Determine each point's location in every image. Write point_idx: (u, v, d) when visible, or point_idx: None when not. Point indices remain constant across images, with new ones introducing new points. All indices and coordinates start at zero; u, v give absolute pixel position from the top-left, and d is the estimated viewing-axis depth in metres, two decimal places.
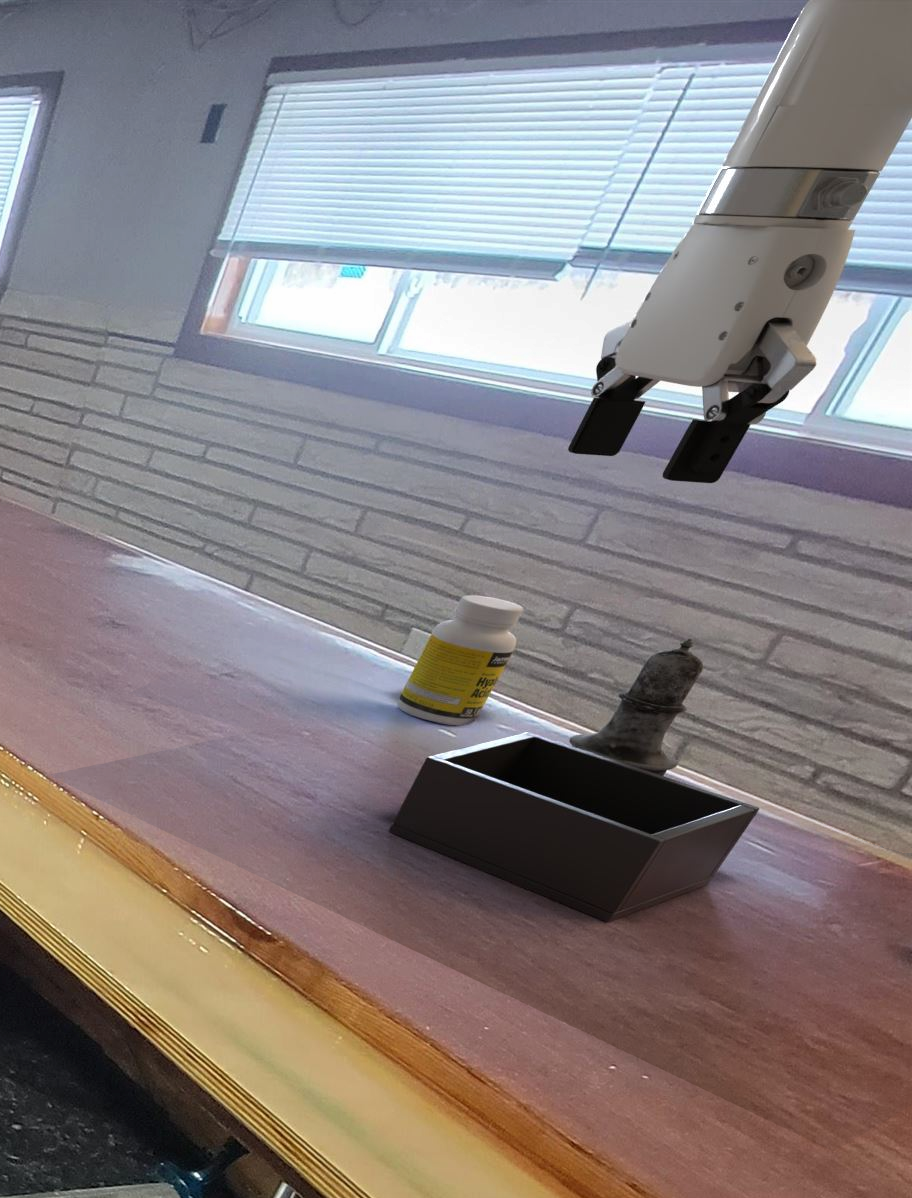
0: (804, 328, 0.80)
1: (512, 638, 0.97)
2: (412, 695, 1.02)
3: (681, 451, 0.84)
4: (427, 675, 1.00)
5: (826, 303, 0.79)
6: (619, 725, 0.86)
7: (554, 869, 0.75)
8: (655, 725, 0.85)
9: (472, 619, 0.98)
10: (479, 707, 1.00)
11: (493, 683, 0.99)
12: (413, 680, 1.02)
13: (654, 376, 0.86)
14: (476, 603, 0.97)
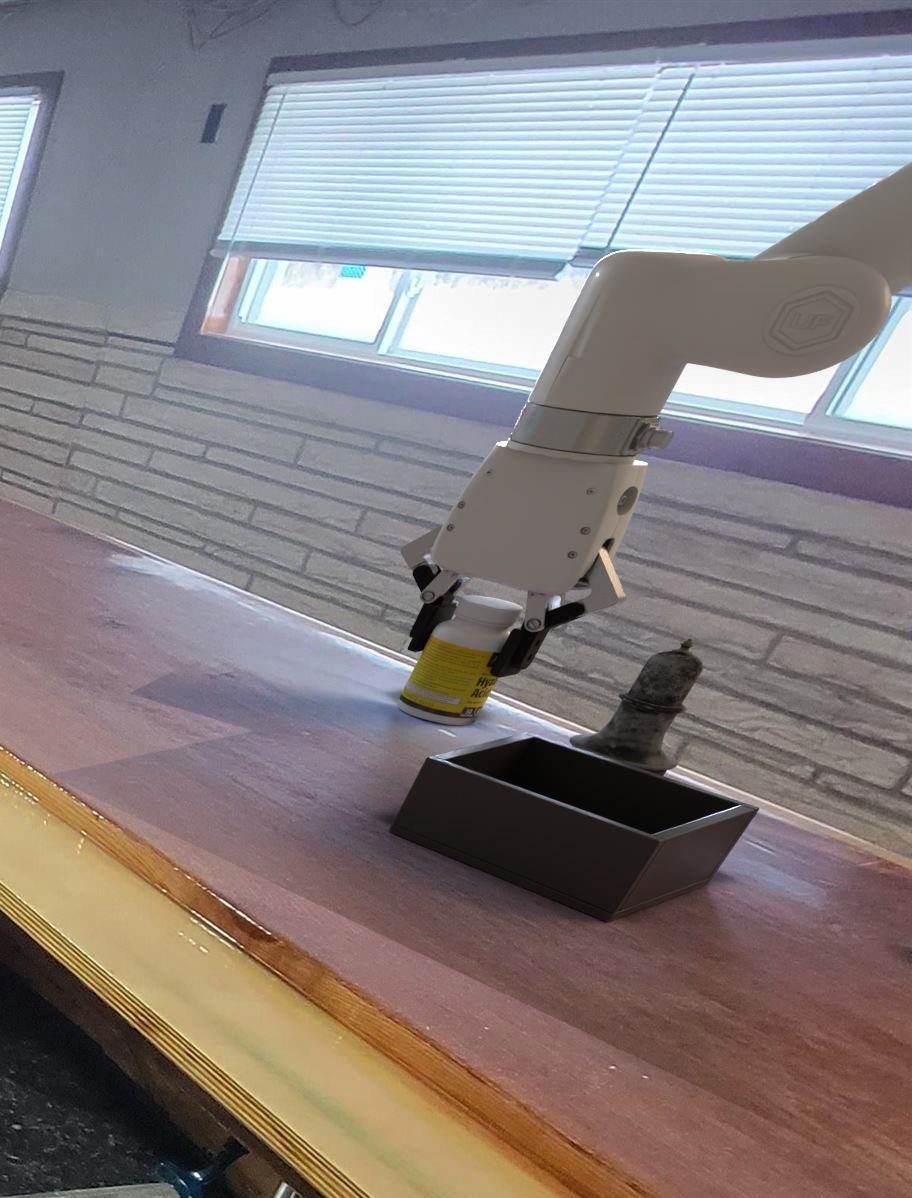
0: (617, 544, 0.91)
1: None
2: (412, 695, 1.02)
3: (508, 654, 0.96)
4: (426, 675, 1.00)
5: None
6: (619, 725, 0.86)
7: (554, 869, 0.75)
8: (655, 725, 0.85)
9: (471, 619, 0.98)
10: (479, 707, 1.00)
11: (493, 683, 0.99)
12: (413, 680, 1.02)
13: (489, 578, 0.96)
14: (476, 603, 0.97)
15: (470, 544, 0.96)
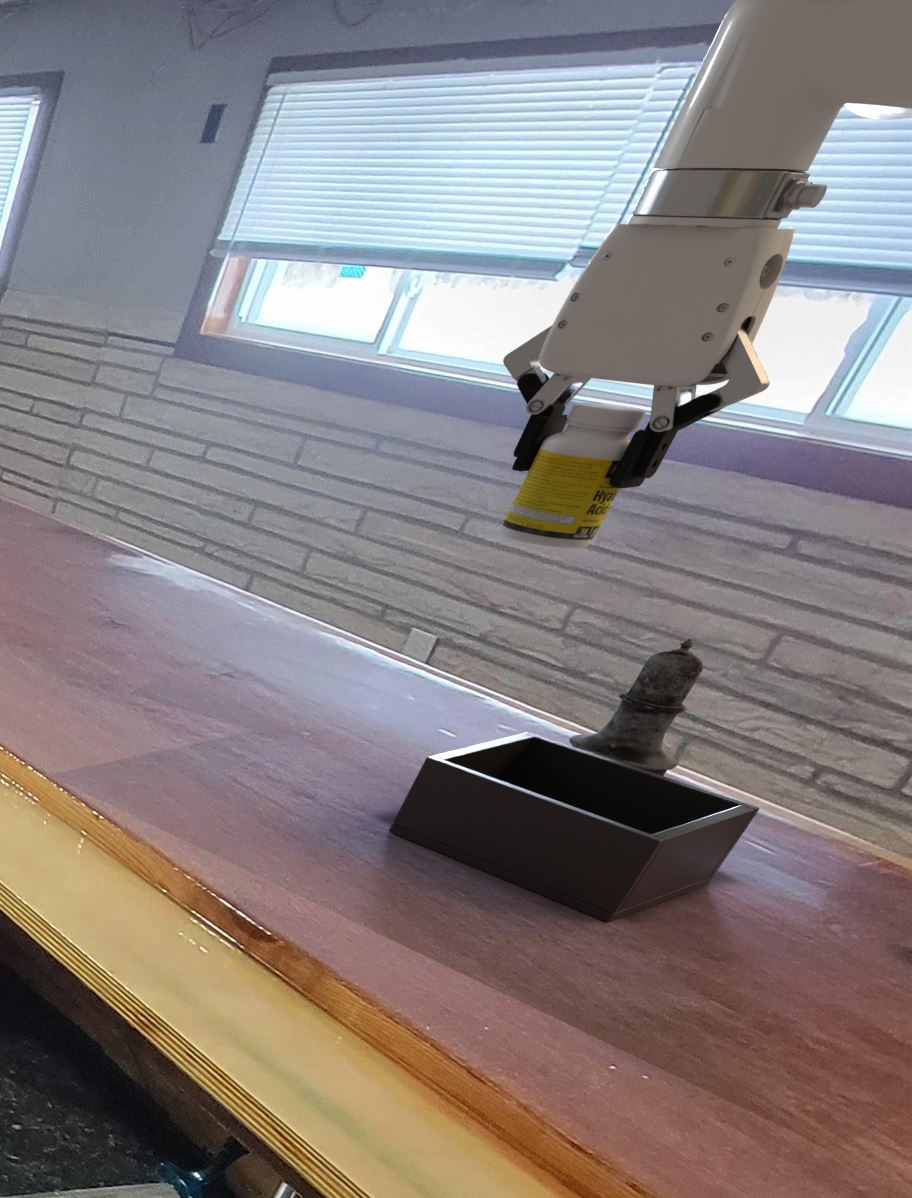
0: (758, 325, 0.82)
1: None
2: (518, 518, 0.92)
3: (631, 461, 0.87)
4: (535, 493, 0.91)
5: None
6: (619, 725, 0.86)
7: (554, 869, 0.75)
8: (655, 725, 0.85)
9: (587, 425, 0.88)
10: (595, 526, 0.90)
11: (611, 498, 0.89)
12: (520, 502, 0.92)
13: (608, 377, 0.87)
14: (592, 407, 0.88)
15: (586, 340, 0.87)
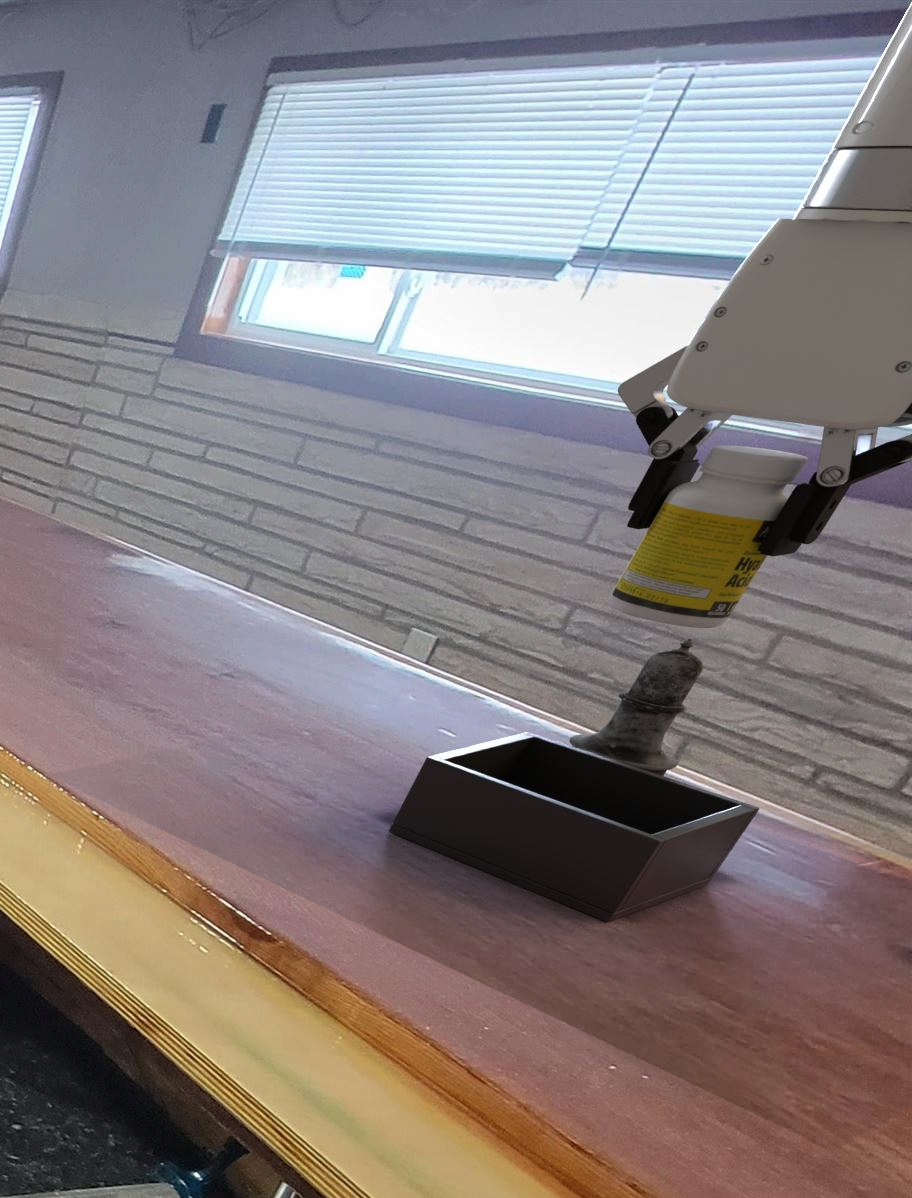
0: None
1: None
2: (635, 588, 0.73)
3: (789, 522, 0.68)
4: (659, 558, 0.72)
5: None
6: (619, 725, 0.86)
7: (554, 869, 0.75)
8: (655, 725, 0.85)
9: (731, 475, 0.69)
10: (735, 601, 0.71)
11: (758, 567, 0.71)
12: (637, 568, 0.73)
13: (762, 414, 0.68)
14: (738, 452, 0.69)
15: (733, 367, 0.68)
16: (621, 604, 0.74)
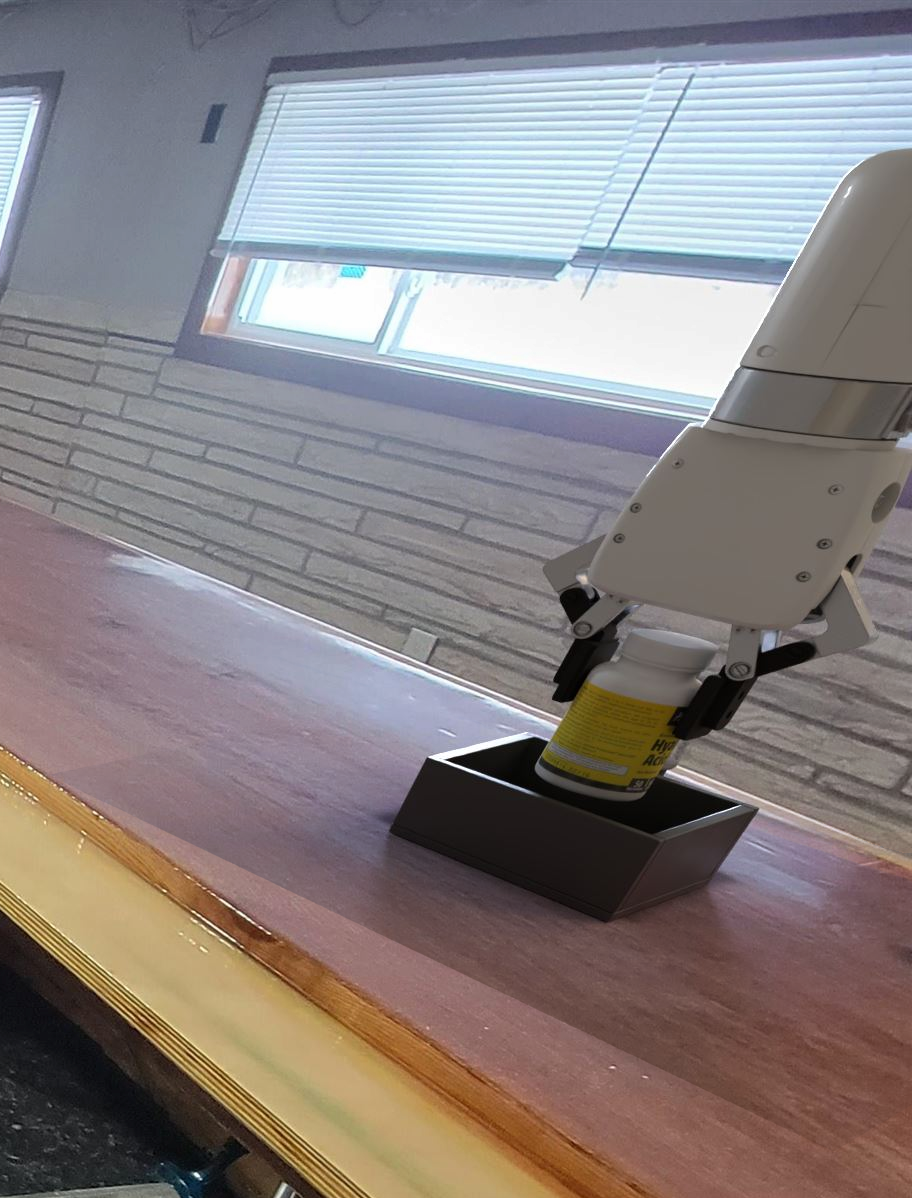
0: (864, 562, 0.66)
1: None
2: (559, 760, 0.77)
3: (700, 710, 0.71)
4: (580, 734, 0.75)
5: (881, 532, 0.66)
6: None
7: (554, 869, 0.75)
8: None
9: (647, 662, 0.72)
10: (652, 778, 0.75)
11: (673, 746, 0.74)
12: (560, 741, 0.77)
13: (675, 608, 0.71)
14: (653, 640, 0.72)
15: (648, 561, 0.71)
16: (546, 774, 0.77)
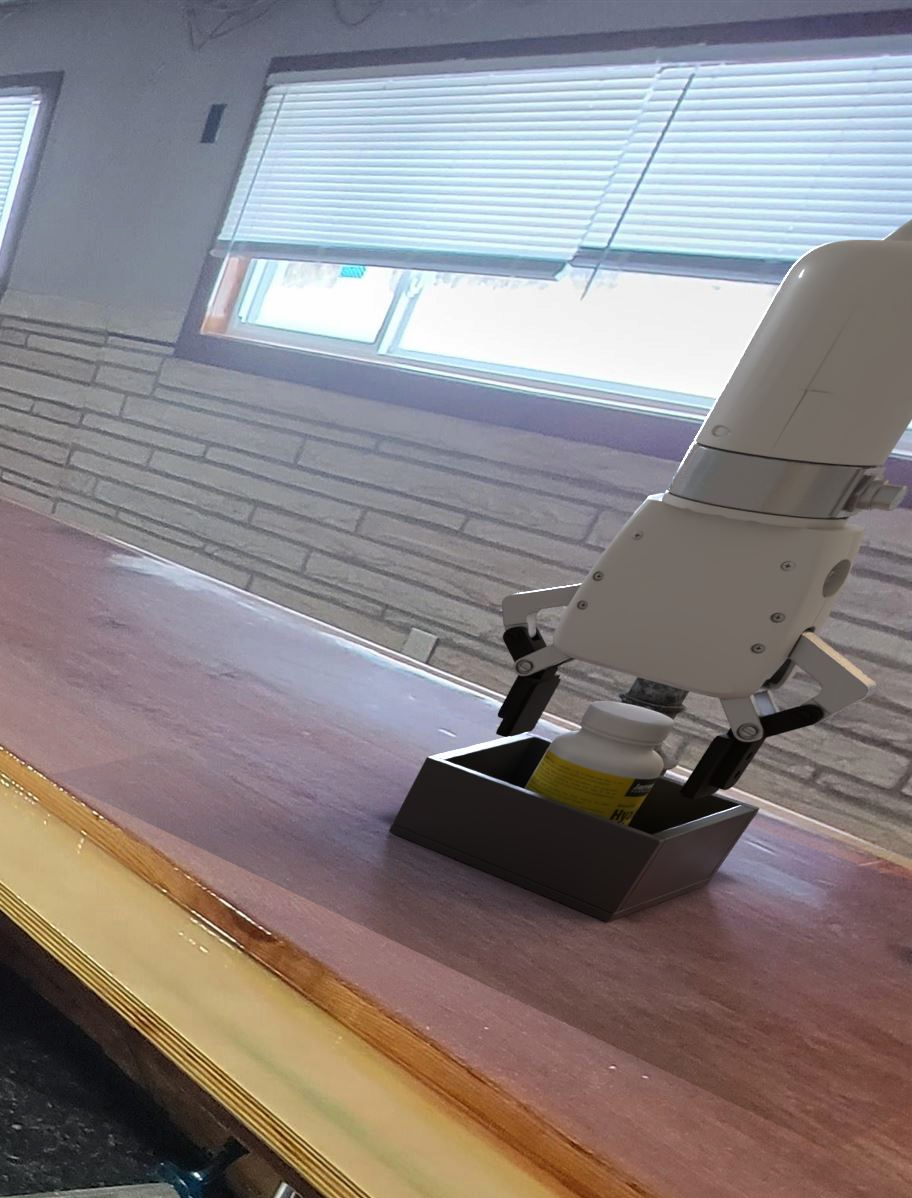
0: (817, 633, 0.68)
1: (659, 760, 0.74)
2: None
3: (708, 770, 0.71)
4: None
5: (833, 605, 0.68)
6: None
7: (554, 869, 0.75)
8: None
9: (605, 735, 0.75)
10: None
11: (631, 816, 0.76)
12: None
13: (636, 674, 0.73)
14: (612, 714, 0.74)
15: (610, 628, 0.73)
16: None
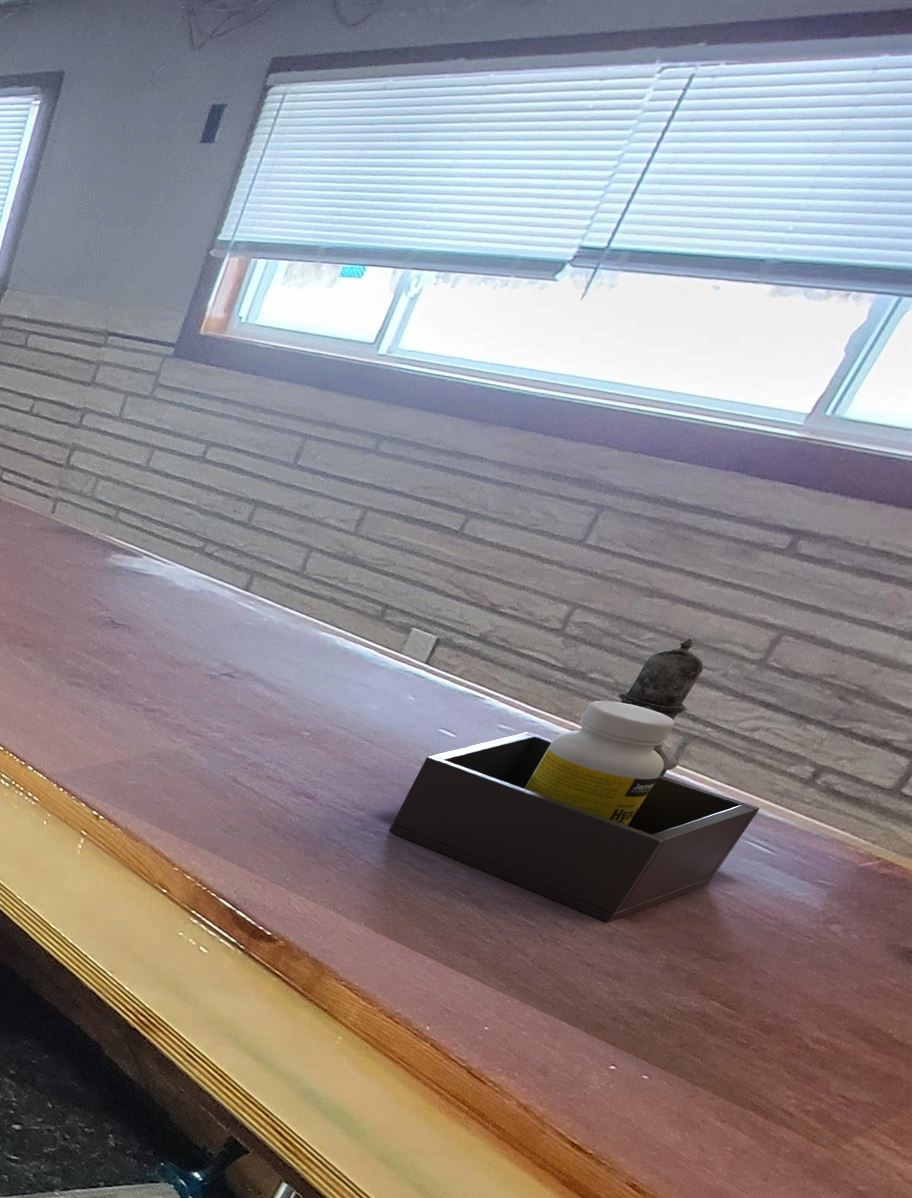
0: None
1: (659, 760, 0.74)
2: None
3: None
4: None
5: None
6: None
7: (554, 869, 0.75)
8: None
9: (605, 735, 0.75)
10: None
11: (631, 816, 0.76)
12: None
13: None
14: (612, 714, 0.74)
15: None
16: None
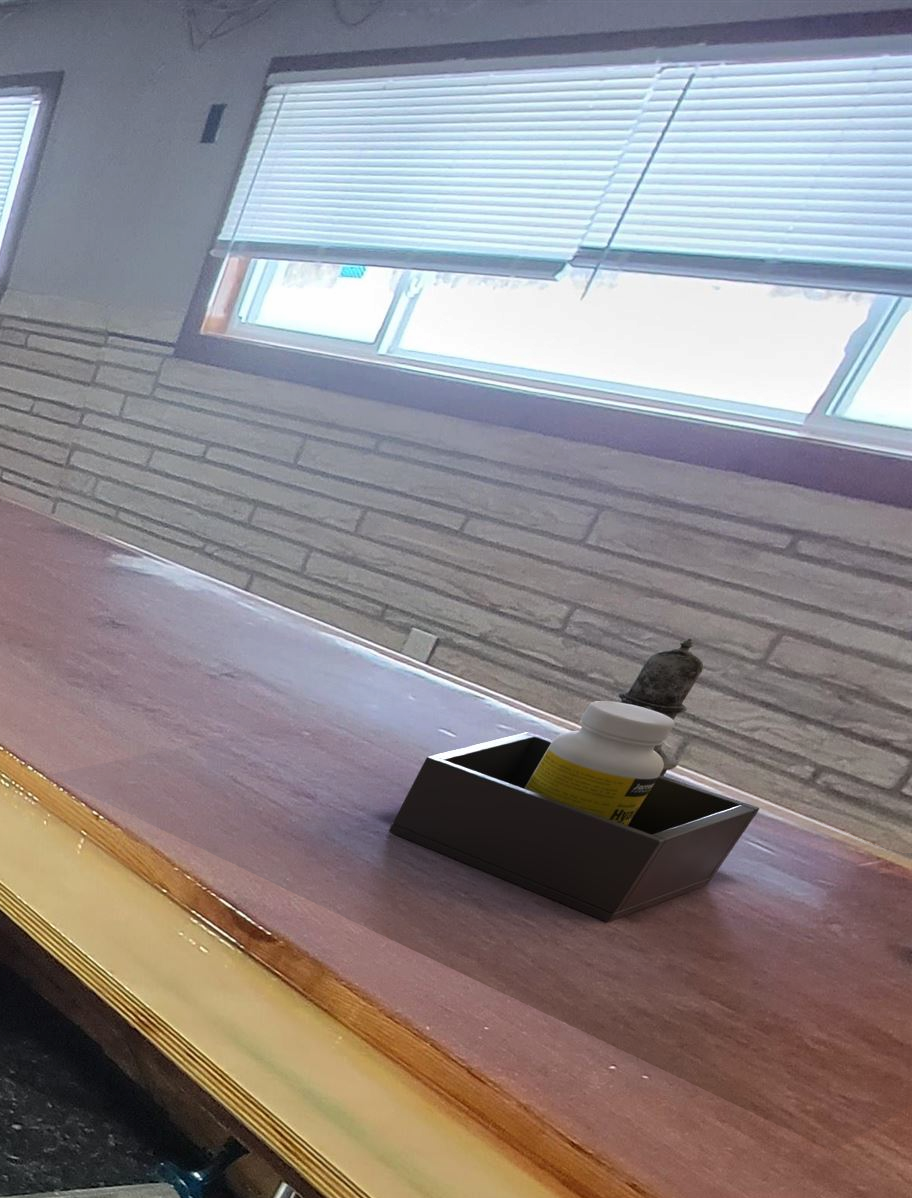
0: None
1: (659, 760, 0.74)
2: None
3: None
4: None
5: None
6: None
7: (554, 869, 0.75)
8: None
9: (605, 735, 0.75)
10: None
11: (631, 816, 0.76)
12: None
13: None
14: (612, 714, 0.74)
15: None
16: None
